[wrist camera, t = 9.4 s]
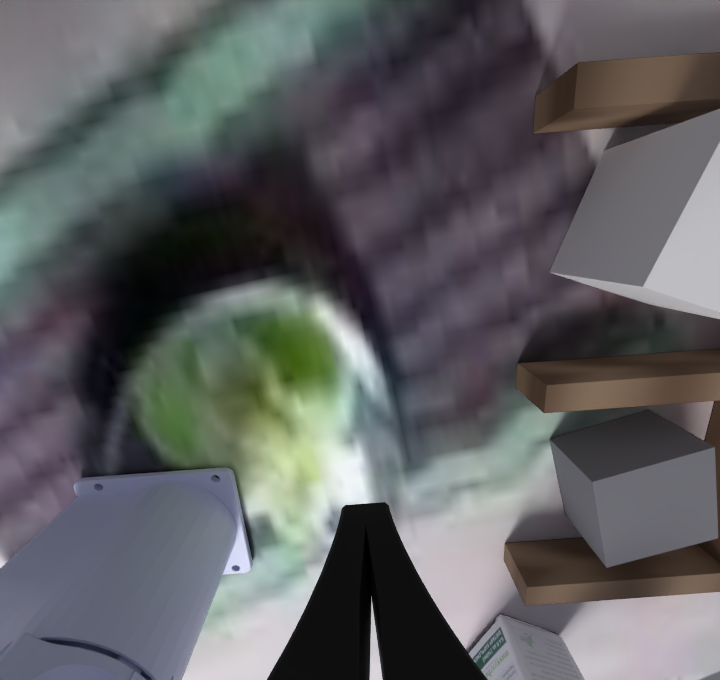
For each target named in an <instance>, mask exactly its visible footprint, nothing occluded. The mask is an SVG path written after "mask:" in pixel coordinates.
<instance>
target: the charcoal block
mask: <svg viewBox="0 0 720 680" xmlns="http://www.w3.org/2000/svg"><path fill="white" fill-rule="evenodd" d="M550 444H551V449H552V454H553V458H554V463H555V468H556V473H557V478H558V483H559V488H560V493H561V497H562V502H563V507H564V512H565V515H566V516H567V517H568V518H569V520H570V521H571V522H572V524H573V525H574V526H575V528H576V529H577V530H578V531H579V533H580V534H581V535H582V537H583V538H584V539H585V540H586V542H587V543H588V544H589V546H590V547H591V548H592V550H593V551H594V552H595V553H596V555H597V556H598V557H599V559H600V560H601V561H602V562H603V564H604V565H605V566H606V568H608V567H611V566H615V565H619V564H623V563H627V562H630V561H634V560H638V559H642V558H646V557H649V556H653V555H657V554H661V553H664V552H668V551H672V550H676V549H680V548H683V547H687V546H691V545H695V544H699V543H702V542H706V541H710V540H714V539H717V538H718V516H717V490H716V465H715V447H714V446H712V445H710V444H708V443H707V442H705V441H703V440H701V439H700V438H698V437H696V436H694V435H693V434H691V433H689V432H687V431H686V430H684V429H682V428H680V427H679V426H677V425H675V424H673V423H672V422H670V421H668V420H666V419H665V418H663V417H661V416H659V415H658V414H656V413H654V412H652V411H651V410H649V409H648V410H644V411H641V412H638V413H634V414H631V415H628V416H624V417H621V418H618V419H614V420H611V421H608V422H604V423H601V424H598V425H594V426H591V427H588V428H584V429H581V430H577V431H574V432H571V433H567V434H564V435H561V436H557V437H554V438H551V439H550Z"/></svg>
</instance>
